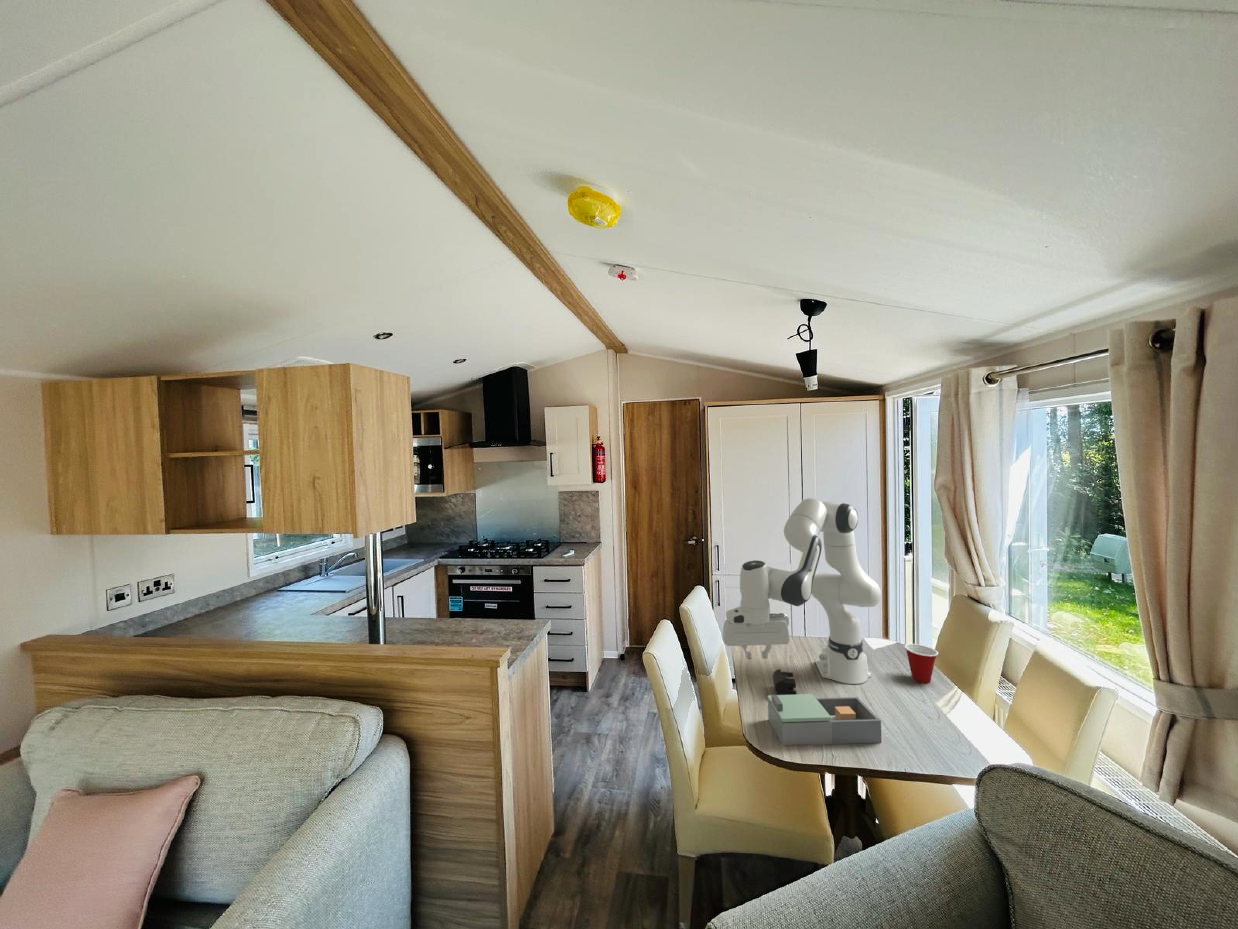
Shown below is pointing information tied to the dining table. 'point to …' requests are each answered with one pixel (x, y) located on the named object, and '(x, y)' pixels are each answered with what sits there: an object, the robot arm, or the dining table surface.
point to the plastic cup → (921, 661)
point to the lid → (798, 708)
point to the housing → (830, 725)
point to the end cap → (784, 683)
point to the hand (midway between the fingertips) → (756, 658)
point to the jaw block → (844, 713)
